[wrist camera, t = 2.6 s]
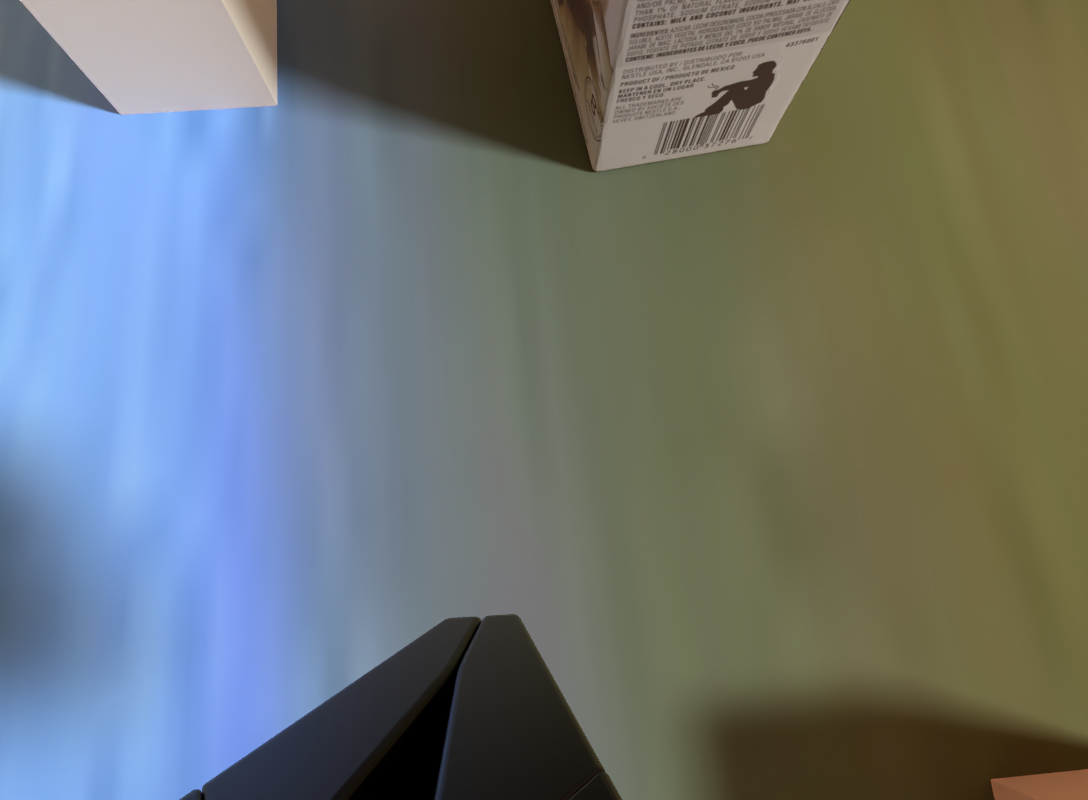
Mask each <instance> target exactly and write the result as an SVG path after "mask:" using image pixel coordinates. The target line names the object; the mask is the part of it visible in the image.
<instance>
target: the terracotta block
mask: <svg viewBox="0 0 1088 800" xmlns="http://www.w3.org/2000/svg"><path fill="white" fill-rule="evenodd" d="M991 784H992V789H993V794H994V799H995V800H1088V769H1084V770H1074V771H1065V772H1055V773H1045V774H1036V775H1026V776H1017V777H1007V778H997V779H991Z"/></svg>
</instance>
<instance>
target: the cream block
mask: <svg viewBox="0 0 1088 800" xmlns="http://www.w3.org/2000/svg"><path fill="white" fill-rule="evenodd" d="M20 1H21V2H22V3H23V4H24V6H25V7H26V8H27V9H28V10H29V11H30V12H31V13H32V15H33V16H34V17H35V18H36V19H37V20H38V21H39V23H40V24H41V25H42V26H43V27H44V28H45V29H46V30H47V32H48V33H49V34H50V35H51V36H52V37H53V38H54V40H55V41H56V42H57V43H58V44H59V45H60V46H61V47H62V49H63V50H64V51H65V52H66V53H67V54H68V55H69V57H70V58H71V59H72V60H73V61H74V62H75V63H76V64H77V66H78V67H79V68H80V69H81V70H82V71H83V72H84V74H85V75H86V76H87V77H88V78H89V79H90V80H91V82H92V83H93V84H94V85H95V86H96V87H97V88H98V89H99V91H100V92H101V93H102V94H103V95H104V96H105V97H106V99H107V100H108V101H109V102H110V103H111V104H112V105H113V106H114V108H115V109H116V110H117V111H118V112H119V113H120V114H121V115H126V114H143V113H160V112H177V111H194V110H212V109H229V108H246V107H263V106H277V0H20Z"/></svg>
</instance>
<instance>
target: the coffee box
mask: <svg viewBox="0 0 1088 800" xmlns="http://www.w3.org/2000/svg"><path fill="white" fill-rule="evenodd" d="M550 1H551V5H552V9H553V12H554V16H555V20H556V24H557V28H558V32H559V36H560V40H561V44H562V48H563V52H564V56H565V60H566V64H567V68H568V73H569V77H570V81H571V85H572V89H573V93H574V97H575V101H576V105H577V109H578V113H579V117H580V121H581V125H582V129H583V133H584V137H585V141H586V145H587V149H588V153H589V157H590V161H591V165H592V168H593V170H595V171H605V170H611V169H617V168H623V167H629V166H634V165H640V164H646V163H652V162H658V161H664V160H670V159H675V158H681V157H687V156H693V155H699V154H704V153H710V152H715V151H721V150H727V149H734V148H739V147H745V146H750V145H756V144H762V143H766V142H768V141H769V139H770V138H771V136H772V134H773V132H774V130H775V129H776V127H777V125H778V124H779V122H780V120H781V118H782V117H783V115H784V113H785V111H786V109H787V108H788V106H789V105H790V103H791V101H792V100H793V98H794V96H795V94H796V92H797V91H798V89H799V87H800V86H801V84H802V82H803V81H804V79H805V77H806V75H807V74H808V72H809V70H810V69H811V67H812V65H813V63H814V62H815V60H816V58H817V57H818V55H819V54H820V52H821V50H822V48H823V47H824V45H825V43H826V41H827V39H828V38H829V36H830V34H831V33H832V31H833V29H834V28H835V26H836V24H837V23H838V21H839V19H840V17H841V15H842V14H843V12H844V10H845V9H846V7H847V5H848V4H849V2H850V1H851V0H550Z"/></svg>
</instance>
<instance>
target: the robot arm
mask: <svg viewBox="0 0 1088 800" xmlns="http://www.w3.org/2000/svg"><path fill="white" fill-rule="evenodd" d="M180 800H622V798H621V797H620V795H619V793H618V791H617V790H616V788H615V786H614V784H613V783H612V781H611V779H610V777H609V775H608V774H606V773H605V770H604V768H603V766H602V765H601V763H600V761H599V759H598V757H597V756H596V754H595V752H594V750H593V748H592V747H591V745H590V743H589V741H588V739H587V738H586V736H585V734H584V732H583V730H582V729H581V727H580V725H579V723H578V721H577V720H576V718H575V716H574V714H573V712H572V711H571V709H570V707H569V705H568V703H567V702H566V700H565V698H564V696H563V694H562V693H561V691H560V689H559V687H558V685H557V684H556V682H555V680H554V678H553V676H552V675H551V673H550V671H549V669H548V668H547V666H546V664H545V662H544V660H543V659H542V657H541V655H540V653H539V651H538V650H537V648H536V646H535V644H534V642H533V641H532V639H531V637H530V635H529V633H528V632H527V630H526V628H525V626H524V624H523V623H522V621H521V619H520V618H519V617H518V616H517V615H515V614H509V615H493V616H486V617H485V618H483V620H482V621H481V619H480V618H478V617H459V618H448V619H446V620H444V621H442V622H441V623H439V624H438V625H437V626H435V627H434V628H432V629H431V630H429V631H428V632H426V633H425V634H423V635H422V636H420V637H419V638H418V639H416V640H415V641H413V642H412V643H410V644H409V645H407V646H406V647H404V648H403V649H401V650H400V651H399V652H397V653H396V654H394V655H393V656H391V657H390V658H388V659H387V660H385V661H384V662H382V663H381V664H380V665H378V666H377V667H375V668H374V669H372V670H371V671H369V672H368V673H366V674H365V675H363V676H362V677H361V678H359V679H358V680H356V681H355V682H353V683H352V684H350V685H349V686H347V687H346V688H344V689H343V690H342V691H340V692H339V693H337V694H336V695H334V696H333V697H331V698H330V699H328V700H327V701H325V702H324V703H323V704H321V705H320V706H318V707H317V708H315V709H314V710H312V711H311V712H309V713H308V714H306V715H305V716H304V717H302V718H301V719H299V720H298V721H296V722H295V723H293V724H292V725H290V726H289V727H287V728H286V729H285V730H283V731H282V732H280V733H279V734H277V735H276V736H274V737H273V738H271V739H270V740H268V741H267V742H266V743H264V744H263V745H261V746H260V747H258V748H257V749H255V750H254V751H252V752H251V753H249V754H248V755H247V756H245V757H244V758H242V759H241V760H239V761H238V762H236V763H235V764H233V765H232V766H230V767H229V768H228V769H226V770H225V771H223V772H222V773H220V774H219V775H217V776H216V777H214V778H213V779H211V780H210V781H209V782H207V783H206V784H205V785H204V786H203V788H202V792H201V791H200V790H198V789H196V790H193V791H191V792H190V793H188V794H187V795H186V796H184V797H183V798H181V799H180Z"/></svg>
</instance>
